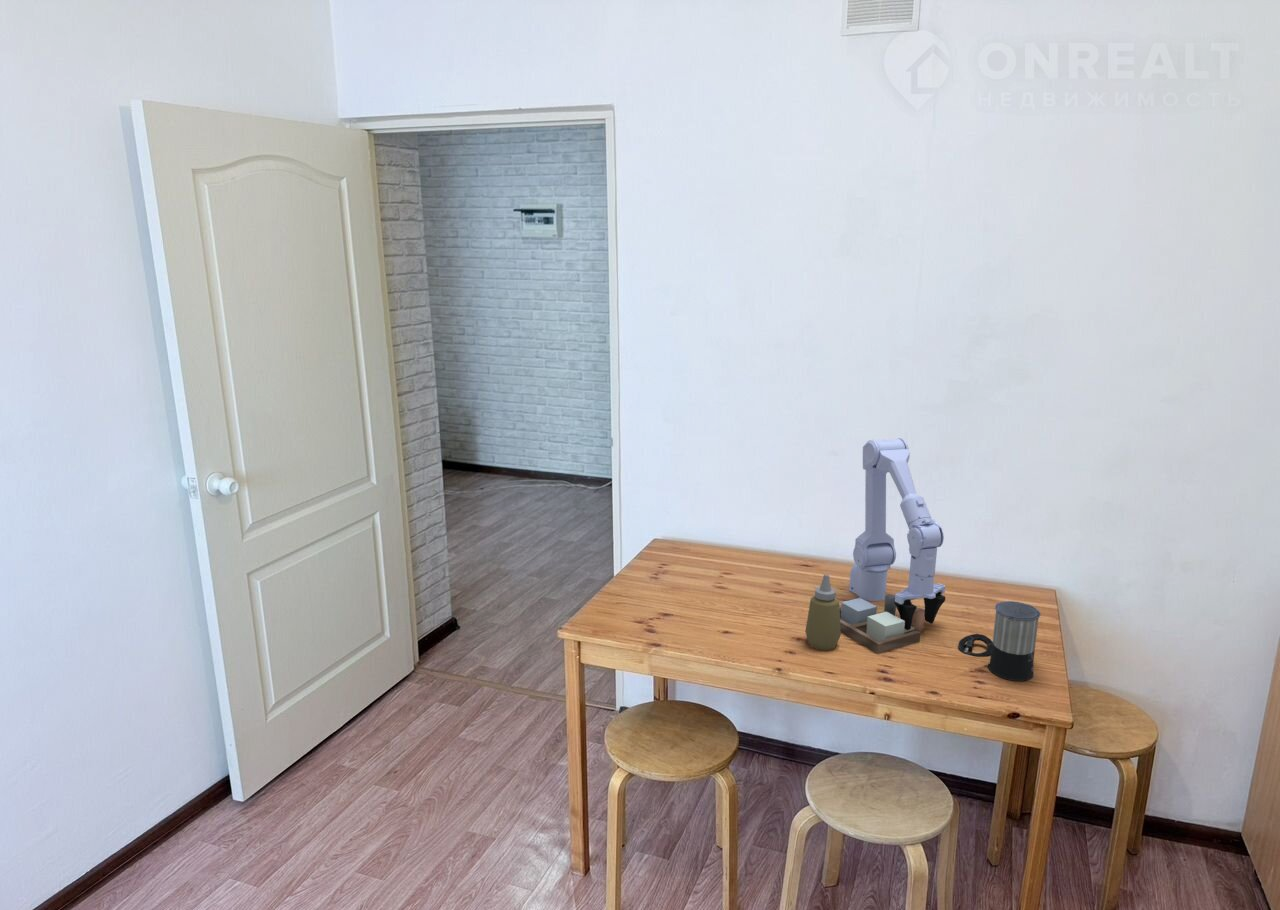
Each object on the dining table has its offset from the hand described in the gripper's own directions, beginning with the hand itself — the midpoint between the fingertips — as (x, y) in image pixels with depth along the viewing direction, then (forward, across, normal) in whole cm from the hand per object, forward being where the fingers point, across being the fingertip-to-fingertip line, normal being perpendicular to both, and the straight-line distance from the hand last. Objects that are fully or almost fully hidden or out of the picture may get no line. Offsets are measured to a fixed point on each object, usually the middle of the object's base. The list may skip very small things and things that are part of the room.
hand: (917, 625), depth 199 cm
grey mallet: (+1, -6, +9) cm, 11 cm away
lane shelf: (+2, -4, +5) cm, 6 cm away
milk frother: (+2, +4, -19) cm, 20 cm away
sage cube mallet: (+1, -6, 0) cm, 6 cm away
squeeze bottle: (+2, -26, +5) cm, 26 cm away
